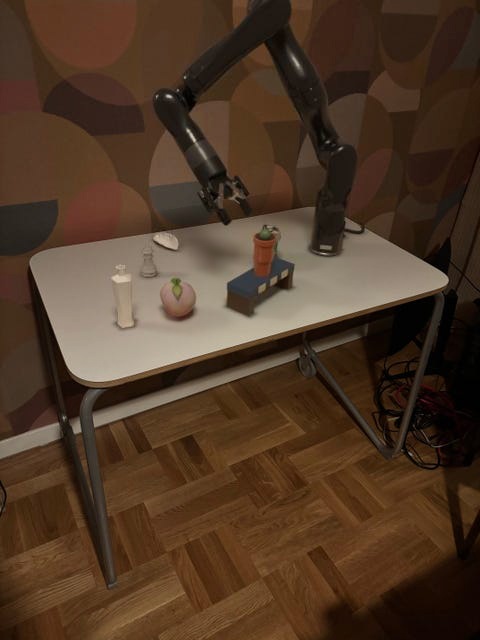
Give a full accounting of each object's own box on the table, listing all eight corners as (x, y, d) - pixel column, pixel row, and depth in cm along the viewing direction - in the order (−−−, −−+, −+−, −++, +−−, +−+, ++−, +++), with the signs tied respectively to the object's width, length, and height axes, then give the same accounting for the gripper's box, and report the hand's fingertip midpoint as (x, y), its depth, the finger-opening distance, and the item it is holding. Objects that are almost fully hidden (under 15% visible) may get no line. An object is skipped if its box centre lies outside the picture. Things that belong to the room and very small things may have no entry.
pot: (262, 265, 132) (265, 222, 125) (278, 273, 128) (282, 230, 122) (246, 272, 128) (248, 228, 122) (262, 280, 125) (265, 235, 118)
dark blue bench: (271, 278, 141) (273, 256, 137) (292, 287, 137) (295, 264, 133) (226, 306, 127) (226, 282, 123) (248, 317, 124) (250, 292, 120)
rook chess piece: (160, 272, 141) (158, 246, 136) (151, 279, 137) (149, 252, 133) (146, 269, 142) (145, 243, 138) (137, 275, 139) (135, 249, 134)
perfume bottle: (117, 318, 121) (111, 262, 113) (135, 317, 121) (131, 262, 113) (114, 328, 117) (108, 271, 109) (134, 328, 117) (129, 271, 109)
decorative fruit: (200, 322, 121) (200, 286, 115) (167, 328, 118) (165, 291, 113) (190, 303, 128) (189, 268, 122) (158, 307, 125) (156, 272, 120)
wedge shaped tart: (275, 272, 144) (278, 240, 138) (254, 269, 145) (256, 237, 139) (281, 254, 154) (284, 223, 148) (261, 251, 155) (263, 221, 149)
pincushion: (185, 249, 154) (184, 231, 151) (167, 253, 151) (167, 236, 148) (164, 235, 162) (163, 218, 159) (147, 239, 158) (146, 222, 155)
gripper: (193, 160, 117) (230, 220, 118) (231, 149, 127) (265, 204, 128) (177, 177, 123) (212, 234, 123) (215, 165, 132) (247, 218, 133)
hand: (239, 219), depth 126 cm, fingers open, 8 cm apart
